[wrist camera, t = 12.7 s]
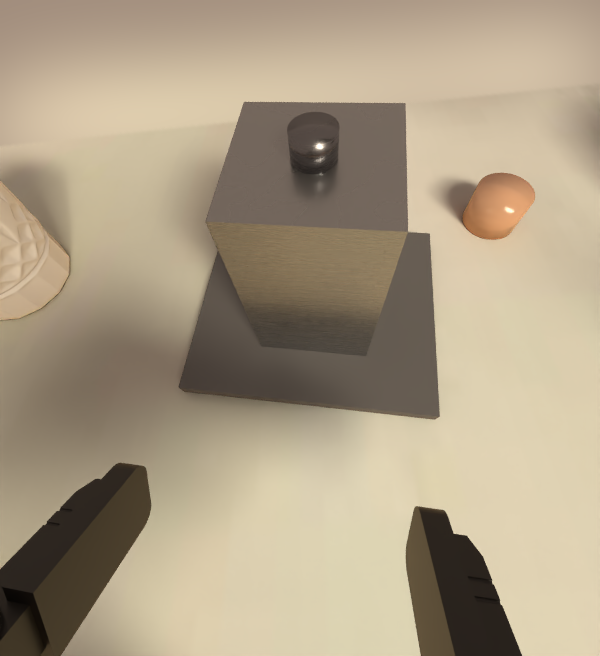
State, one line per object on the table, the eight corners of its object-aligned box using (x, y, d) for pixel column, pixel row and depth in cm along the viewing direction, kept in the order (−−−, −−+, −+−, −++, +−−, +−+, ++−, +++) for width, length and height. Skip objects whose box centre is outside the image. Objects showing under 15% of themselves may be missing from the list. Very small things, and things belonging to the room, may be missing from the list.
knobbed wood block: (369, 268, 21) (411, 72, 11) (366, 356, 18) (417, 204, 8) (277, 262, 21) (238, 72, 12) (261, 346, 19) (194, 195, 9)
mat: (426, 241, 22) (429, 233, 22) (434, 419, 17) (439, 416, 17) (228, 230, 24) (226, 223, 23) (183, 391, 19) (178, 387, 18)
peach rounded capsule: (510, 203, 23) (529, 173, 21) (517, 240, 22) (539, 212, 20) (460, 201, 24) (474, 171, 22) (464, 238, 22) (480, 210, 20)
